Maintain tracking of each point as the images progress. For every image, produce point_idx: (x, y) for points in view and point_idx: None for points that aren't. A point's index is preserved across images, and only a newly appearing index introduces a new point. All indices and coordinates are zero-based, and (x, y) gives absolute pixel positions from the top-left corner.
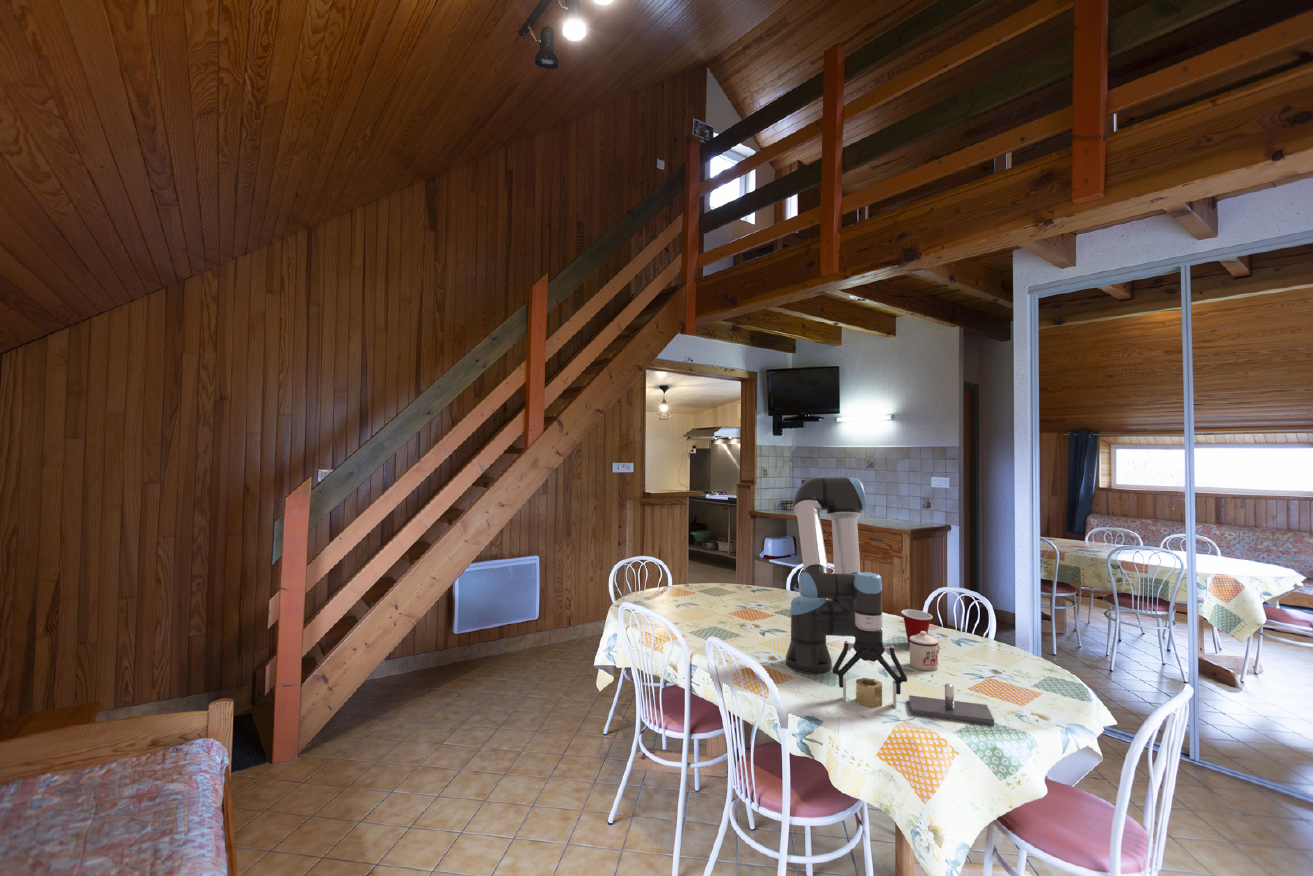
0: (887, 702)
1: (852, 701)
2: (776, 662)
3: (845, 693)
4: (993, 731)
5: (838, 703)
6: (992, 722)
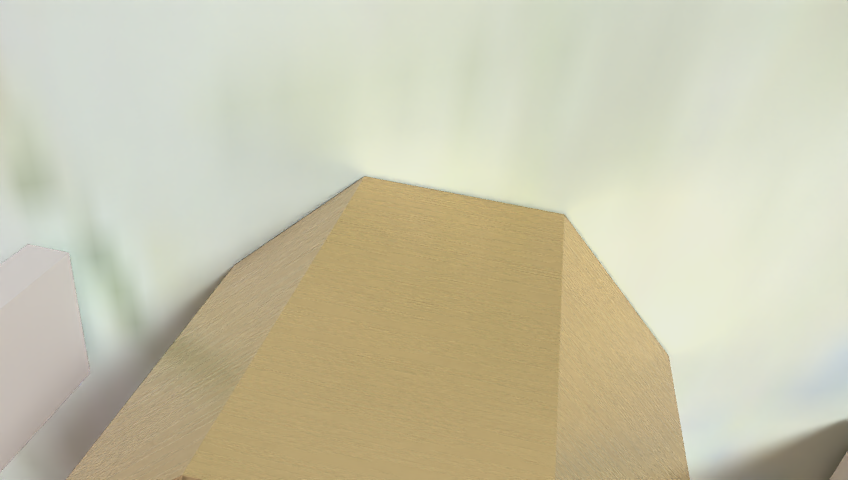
0: (772, 366)
1: None
2: None
3: (10, 454)
4: None
5: None
6: None
